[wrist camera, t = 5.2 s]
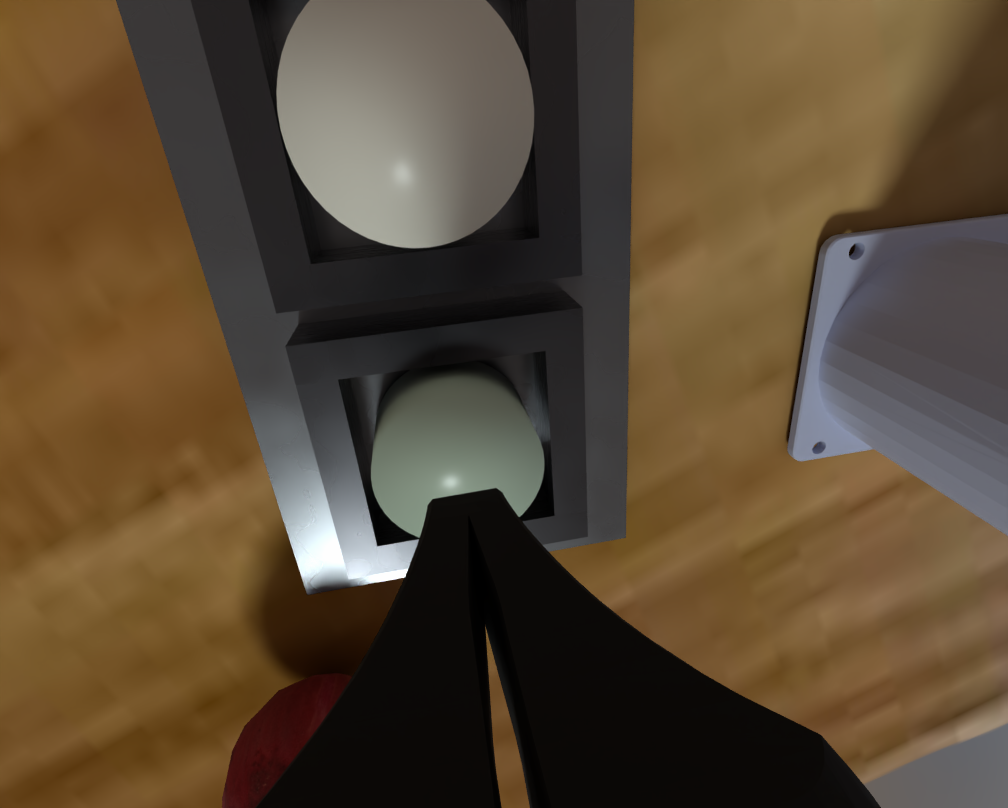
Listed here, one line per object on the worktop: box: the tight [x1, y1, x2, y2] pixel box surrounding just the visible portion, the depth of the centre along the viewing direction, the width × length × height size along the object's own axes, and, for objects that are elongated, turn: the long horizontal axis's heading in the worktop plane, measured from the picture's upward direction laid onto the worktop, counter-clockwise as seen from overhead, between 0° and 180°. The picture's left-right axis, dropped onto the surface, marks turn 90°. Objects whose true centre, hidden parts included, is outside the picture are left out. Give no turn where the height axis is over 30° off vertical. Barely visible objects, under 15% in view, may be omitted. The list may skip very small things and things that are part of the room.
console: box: [116, 0, 634, 595], centre depth 13 cm, size 11×27×3 cm, turn 5°
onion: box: [222, 673, 352, 808], centre depth 18 cm, size 6×6×8 cm
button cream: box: [276, 0, 534, 248], centre depth 11 cm, size 4×4×2 cm
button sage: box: [371, 361, 544, 538], centre depth 15 cm, size 4×4×2 cm
